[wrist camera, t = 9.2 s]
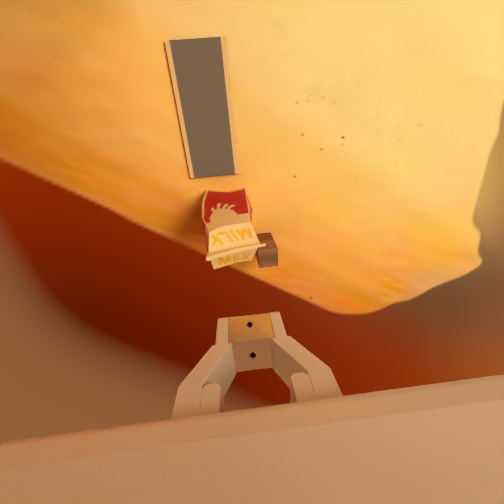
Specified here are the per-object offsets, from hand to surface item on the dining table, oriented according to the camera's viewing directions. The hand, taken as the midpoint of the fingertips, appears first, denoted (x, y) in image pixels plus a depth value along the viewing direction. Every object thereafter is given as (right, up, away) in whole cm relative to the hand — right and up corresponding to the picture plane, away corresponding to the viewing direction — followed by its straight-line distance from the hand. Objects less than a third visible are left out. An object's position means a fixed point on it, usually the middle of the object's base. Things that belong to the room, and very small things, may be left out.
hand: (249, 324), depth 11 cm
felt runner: (-7, +26, +26) cm, 37 cm away
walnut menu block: (+2, +6, +36) cm, 37 cm away
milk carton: (-4, +12, +33) cm, 35 cm away
